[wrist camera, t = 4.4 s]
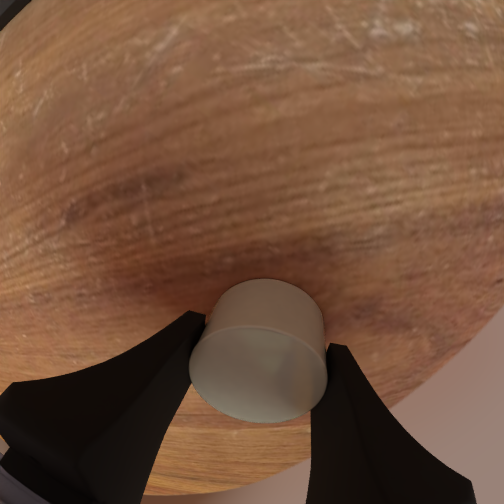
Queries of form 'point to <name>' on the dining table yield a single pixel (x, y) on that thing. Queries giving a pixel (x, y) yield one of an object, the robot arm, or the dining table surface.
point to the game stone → (262, 353)
